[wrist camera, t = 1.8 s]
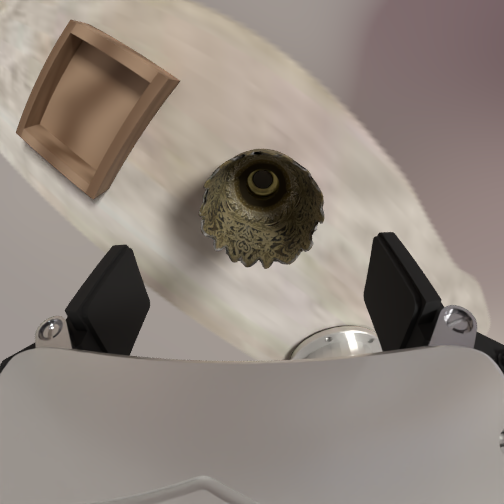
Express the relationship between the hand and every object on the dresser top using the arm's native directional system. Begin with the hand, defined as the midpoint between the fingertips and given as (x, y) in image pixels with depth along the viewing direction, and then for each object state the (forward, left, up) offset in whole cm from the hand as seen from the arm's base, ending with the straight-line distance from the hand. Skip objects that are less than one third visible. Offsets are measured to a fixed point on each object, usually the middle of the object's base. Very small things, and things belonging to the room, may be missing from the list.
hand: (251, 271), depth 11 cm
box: (+13, +11, -15) cm, 22 cm away
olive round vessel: (-1, 0, -15) cm, 15 cm away
